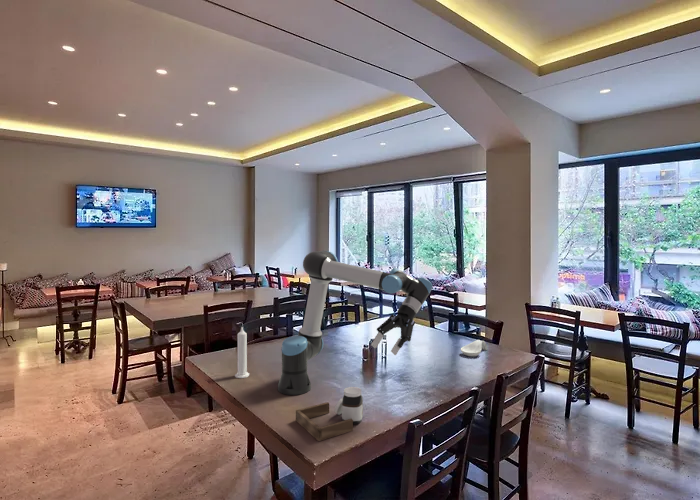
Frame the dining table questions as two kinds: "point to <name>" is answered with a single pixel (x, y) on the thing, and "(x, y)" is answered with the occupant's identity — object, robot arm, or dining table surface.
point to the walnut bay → (325, 431)
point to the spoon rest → (474, 348)
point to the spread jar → (351, 405)
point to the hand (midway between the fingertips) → (382, 349)
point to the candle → (242, 355)
